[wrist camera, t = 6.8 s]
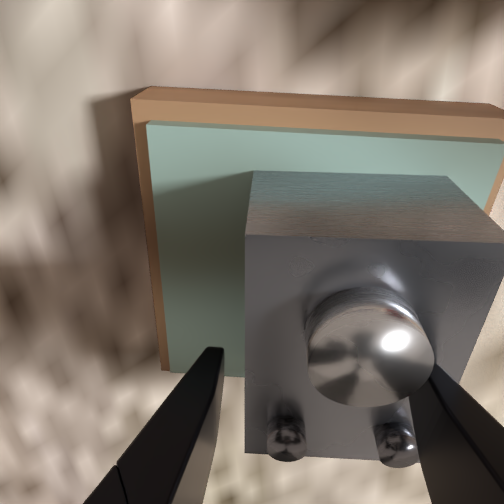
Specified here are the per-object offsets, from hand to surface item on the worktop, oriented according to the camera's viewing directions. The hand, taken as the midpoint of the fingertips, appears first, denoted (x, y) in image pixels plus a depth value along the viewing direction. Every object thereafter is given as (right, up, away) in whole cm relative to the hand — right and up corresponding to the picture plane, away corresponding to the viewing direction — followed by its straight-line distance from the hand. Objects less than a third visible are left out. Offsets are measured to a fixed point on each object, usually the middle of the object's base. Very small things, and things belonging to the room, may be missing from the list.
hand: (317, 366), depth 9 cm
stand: (0, +3, +5) cm, 6 cm away
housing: (+1, +2, +3) cm, 3 cm away
